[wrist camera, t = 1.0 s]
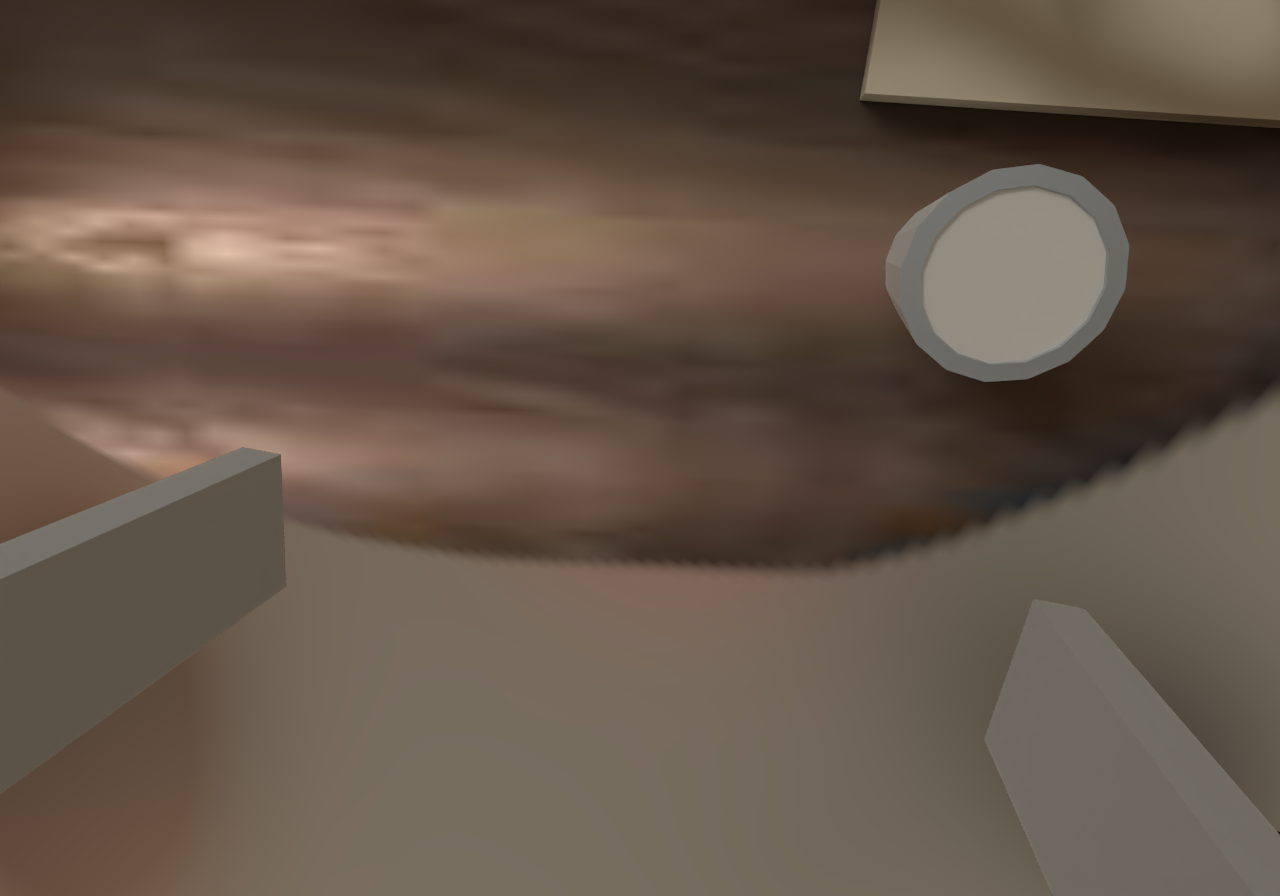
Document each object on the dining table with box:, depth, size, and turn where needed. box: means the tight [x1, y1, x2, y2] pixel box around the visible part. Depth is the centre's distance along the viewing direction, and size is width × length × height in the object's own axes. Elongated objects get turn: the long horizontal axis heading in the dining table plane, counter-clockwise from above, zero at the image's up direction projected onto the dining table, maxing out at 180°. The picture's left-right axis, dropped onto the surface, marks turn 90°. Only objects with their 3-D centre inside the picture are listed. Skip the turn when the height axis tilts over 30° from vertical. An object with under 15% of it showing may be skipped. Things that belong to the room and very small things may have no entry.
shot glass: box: [885, 164, 1129, 382], centre depth 25 cm, size 7×7×7 cm
